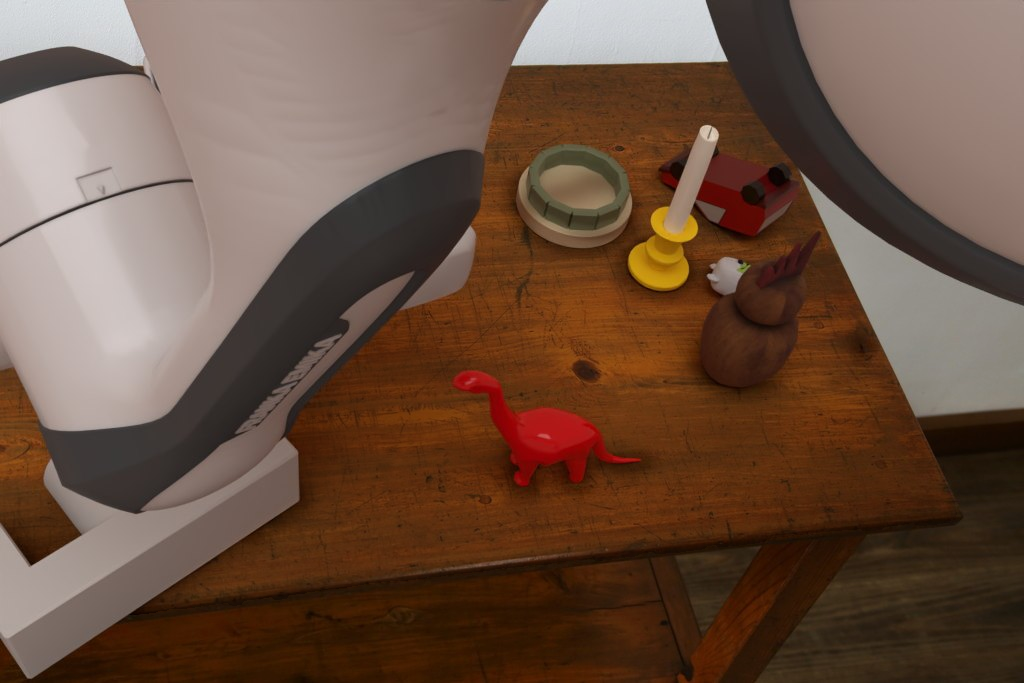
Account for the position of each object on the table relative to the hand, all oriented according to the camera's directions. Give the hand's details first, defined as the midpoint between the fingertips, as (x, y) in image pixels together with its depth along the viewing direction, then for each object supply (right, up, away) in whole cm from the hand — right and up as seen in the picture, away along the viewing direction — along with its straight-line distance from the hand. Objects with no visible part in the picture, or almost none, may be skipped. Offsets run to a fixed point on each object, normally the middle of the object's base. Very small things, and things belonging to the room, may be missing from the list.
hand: (447, 119), depth 59 cm
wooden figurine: (+21, -15, +23) cm, 34 cm away
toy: (+33, -13, +23) cm, 43 cm away
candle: (+16, -7, +28) cm, 33 cm away
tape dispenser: (-21, -25, +7) cm, 33 cm away
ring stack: (+9, -1, +31) cm, 32 cm away
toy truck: (+22, +3, +30) cm, 38 cm away
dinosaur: (+6, -22, +15) cm, 27 cm away
